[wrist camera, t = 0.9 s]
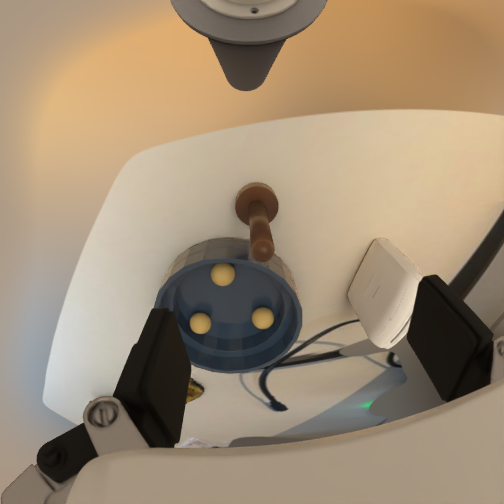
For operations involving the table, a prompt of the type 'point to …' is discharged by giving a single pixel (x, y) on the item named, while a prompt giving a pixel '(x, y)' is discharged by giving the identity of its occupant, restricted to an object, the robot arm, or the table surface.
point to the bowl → (232, 306)
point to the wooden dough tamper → (258, 217)
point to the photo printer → (385, 293)
